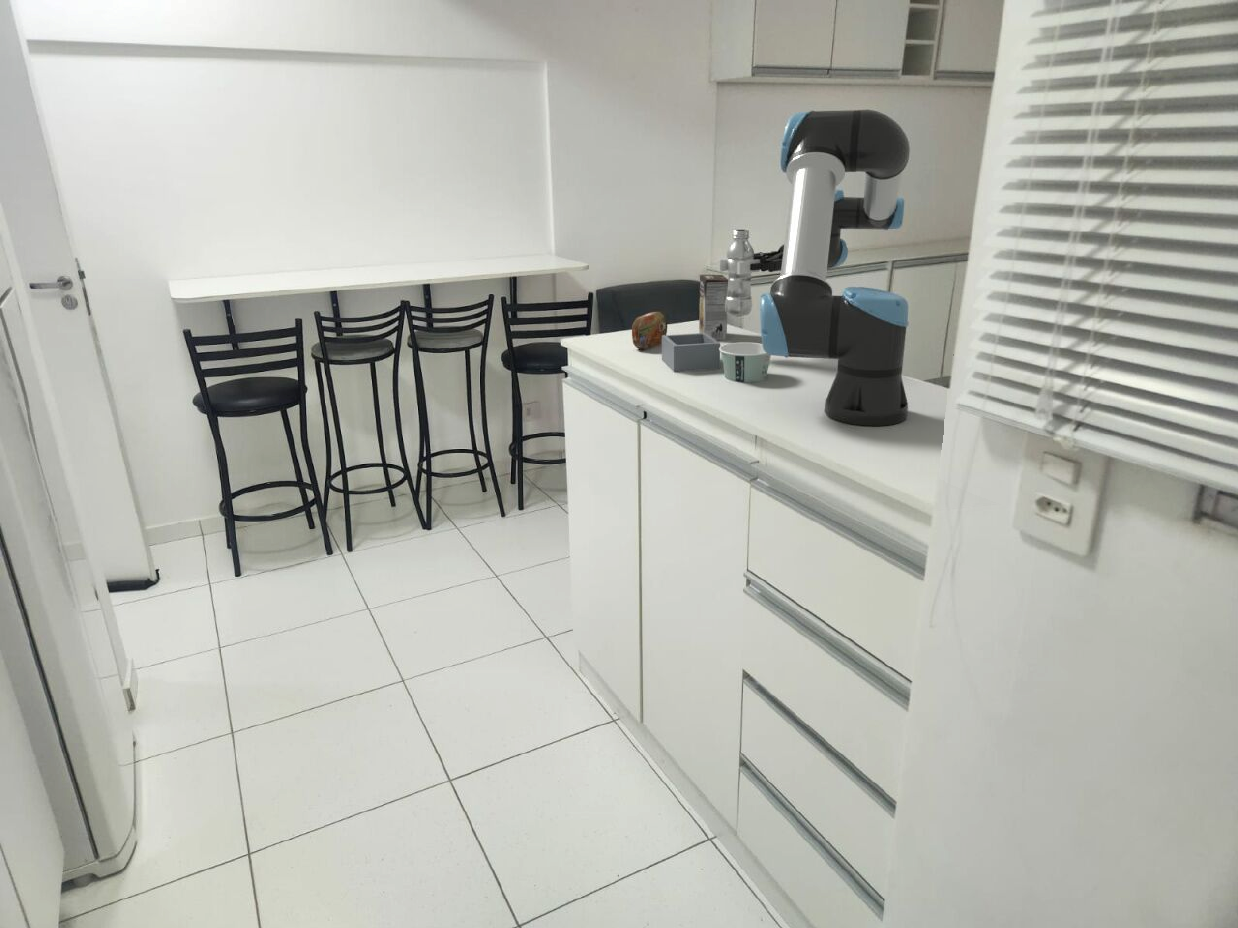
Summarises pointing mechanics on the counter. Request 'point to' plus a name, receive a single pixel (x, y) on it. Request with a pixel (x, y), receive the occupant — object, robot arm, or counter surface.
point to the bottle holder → (690, 352)
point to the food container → (744, 361)
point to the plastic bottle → (739, 275)
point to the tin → (649, 330)
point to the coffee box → (713, 306)
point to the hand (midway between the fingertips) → (728, 266)
